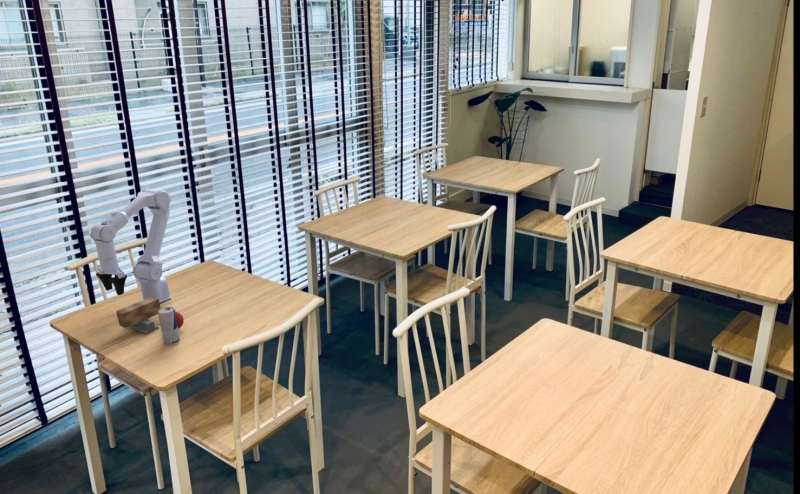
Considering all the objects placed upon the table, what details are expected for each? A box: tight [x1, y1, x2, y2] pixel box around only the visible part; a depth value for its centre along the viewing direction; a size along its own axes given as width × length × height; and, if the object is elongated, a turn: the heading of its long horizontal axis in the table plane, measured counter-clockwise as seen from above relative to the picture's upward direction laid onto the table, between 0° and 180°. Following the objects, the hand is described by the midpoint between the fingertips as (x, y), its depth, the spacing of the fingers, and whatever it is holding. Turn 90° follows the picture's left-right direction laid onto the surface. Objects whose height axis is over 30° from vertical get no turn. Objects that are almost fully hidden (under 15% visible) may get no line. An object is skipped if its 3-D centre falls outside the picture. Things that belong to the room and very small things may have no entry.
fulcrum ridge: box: [129, 318, 159, 335], centre depth 225 cm, size 5×12×3 cm, turn 54°
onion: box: [175, 311, 185, 330], centre depth 221 cm, size 6×6×8 cm
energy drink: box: [158, 306, 181, 346], centre depth 212 cm, size 5×5×12 cm
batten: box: [116, 297, 161, 329], centre depth 224 cm, size 14×4×6 cm, turn 143°
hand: (114, 292), depth 230 cm, fingers open, 7 cm apart
